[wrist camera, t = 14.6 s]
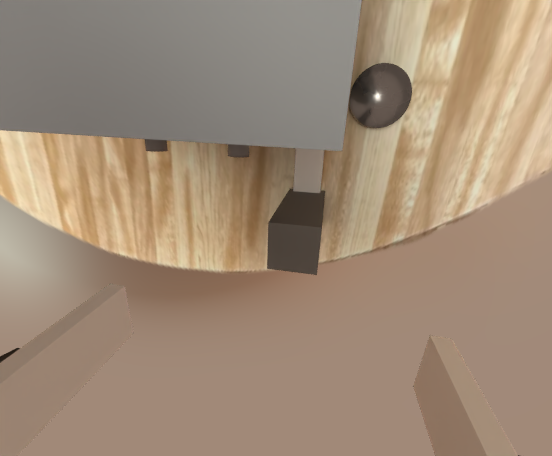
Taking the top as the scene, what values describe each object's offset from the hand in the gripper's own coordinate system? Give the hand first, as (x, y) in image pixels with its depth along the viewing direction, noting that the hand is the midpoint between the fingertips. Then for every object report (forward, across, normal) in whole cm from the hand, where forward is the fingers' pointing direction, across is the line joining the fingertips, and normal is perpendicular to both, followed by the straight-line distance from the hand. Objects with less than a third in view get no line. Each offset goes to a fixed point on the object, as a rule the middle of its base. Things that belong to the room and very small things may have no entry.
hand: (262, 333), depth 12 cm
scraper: (+22, 0, +6) cm, 23 cm away
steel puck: (+22, +6, +11) cm, 25 cm away
